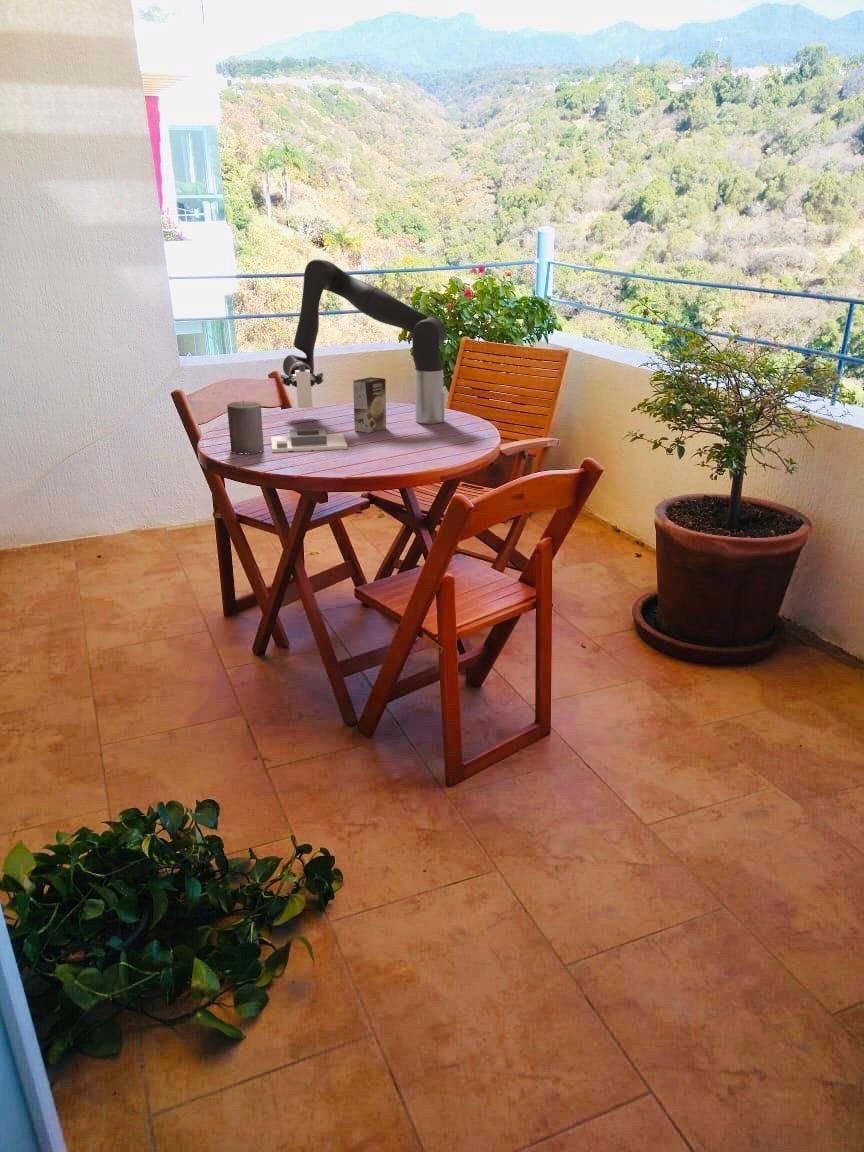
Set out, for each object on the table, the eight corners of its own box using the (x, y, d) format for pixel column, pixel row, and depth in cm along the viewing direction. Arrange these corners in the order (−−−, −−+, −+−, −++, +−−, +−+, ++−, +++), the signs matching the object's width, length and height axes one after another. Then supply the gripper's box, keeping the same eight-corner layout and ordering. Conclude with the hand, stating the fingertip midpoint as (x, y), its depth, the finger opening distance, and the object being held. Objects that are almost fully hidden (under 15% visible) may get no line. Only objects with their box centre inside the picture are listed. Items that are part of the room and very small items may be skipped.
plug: (311, 404, 264) (308, 363, 259) (312, 407, 260) (309, 364, 255) (297, 405, 263) (294, 363, 258) (298, 408, 260) (295, 365, 255)
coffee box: (369, 433, 266) (368, 382, 259) (354, 430, 269) (352, 380, 263) (387, 428, 273) (385, 378, 266) (371, 425, 276) (370, 376, 270)
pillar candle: (224, 453, 243) (219, 401, 237) (241, 445, 252) (237, 395, 246) (253, 456, 240) (249, 404, 234) (270, 448, 249) (267, 397, 243)
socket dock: (342, 436, 262) (341, 425, 260) (347, 448, 247) (346, 437, 246) (271, 439, 258) (270, 428, 257) (272, 452, 243) (271, 440, 242)
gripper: (277, 364, 270) (279, 372, 254) (322, 362, 272) (326, 369, 257) (279, 387, 272) (281, 396, 257) (323, 385, 275) (327, 394, 259)
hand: (303, 383), depth 257 cm, fingers closed on plug, 4 cm apart
